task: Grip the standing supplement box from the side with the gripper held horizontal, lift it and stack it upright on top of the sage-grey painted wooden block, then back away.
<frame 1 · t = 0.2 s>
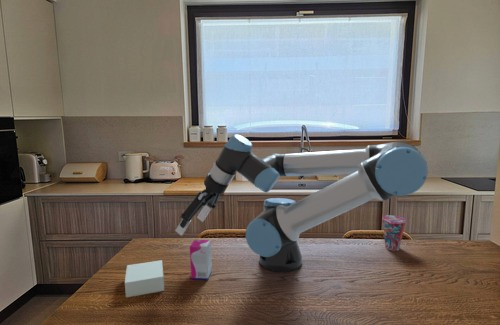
hand: (190, 225, 110), 15 cm above the table, tool tilted 35°, fingers open, 13 cm apart
supplement box: (201, 275, 106), on the table
base block: (145, 285, 101), on the table
cup: (392, 248, 124), on the table
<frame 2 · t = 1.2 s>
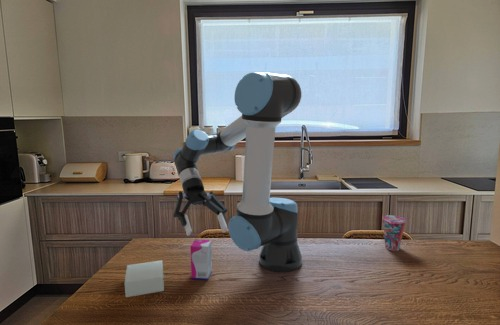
hand: (208, 232, 107), 14 cm above the table, tool tilted 50°, fingers open, 13 cm apart
nothing on the table moved.
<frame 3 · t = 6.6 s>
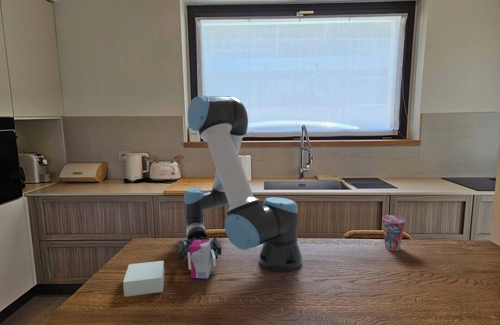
hand: (202, 263, 100), 7 cm above the table, tool horizontal, fingers closed on supplement box, 7 cm apart
supplement box: (201, 275, 106), on the table, touching gripper
everything else where it was.
when the fingers open (13 cm above the table, at t = 11.0 s): supplement box drops 2 cm, resting on base block.
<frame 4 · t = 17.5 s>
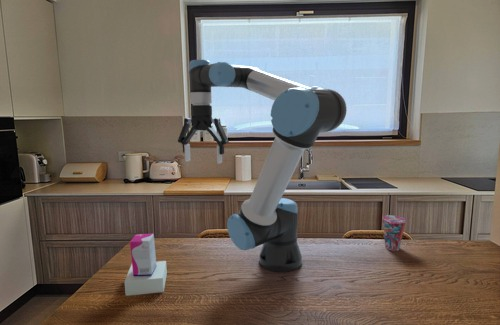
hand: (203, 162, 119), 35 cm above the table, tool pointing down, fingers open, 13 cm apart
supplement box: (145, 271, 100), point 4 cm above the table, touching base block
base block: (147, 285, 101), on the table, touching supplement box
everything else where it was.
at the end: supplement box inside the target area on the base block (0.6 cm from its centre), point 5.0 cm above the base block's base; supplement box tilted 3°; the gripper is holding nothing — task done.
